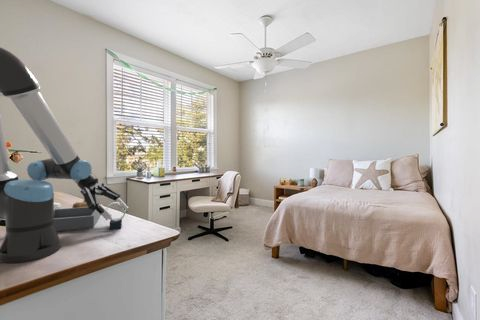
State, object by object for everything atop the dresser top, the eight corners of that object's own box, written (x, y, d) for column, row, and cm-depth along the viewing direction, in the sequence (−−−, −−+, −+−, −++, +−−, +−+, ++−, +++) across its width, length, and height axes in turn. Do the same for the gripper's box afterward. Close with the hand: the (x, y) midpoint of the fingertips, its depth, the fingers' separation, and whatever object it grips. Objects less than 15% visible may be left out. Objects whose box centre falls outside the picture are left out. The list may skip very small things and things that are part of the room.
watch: (126, 228, 103) (126, 203, 102) (104, 230, 100) (104, 204, 99) (126, 224, 108) (126, 200, 107) (106, 226, 105) (106, 201, 104)
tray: (93, 227, 103) (93, 216, 103) (36, 233, 95) (35, 220, 95) (100, 215, 121) (100, 206, 121) (53, 219, 114) (52, 209, 114)
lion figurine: (86, 210, 132) (86, 194, 131) (95, 210, 132) (95, 194, 131) (66, 217, 117) (66, 199, 117) (77, 218, 117) (77, 199, 117)
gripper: (96, 180, 117) (126, 211, 118) (56, 189, 92) (94, 228, 93) (107, 170, 117) (137, 201, 117) (69, 176, 92) (107, 215, 92)
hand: (118, 213), depth 105 cm, fingers open, 13 cm apart
